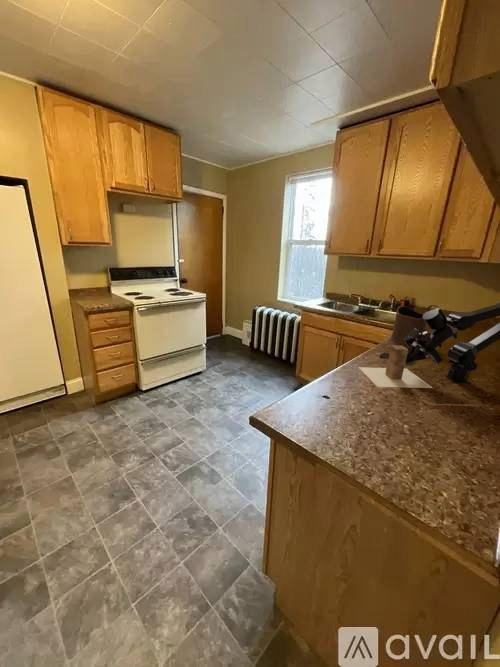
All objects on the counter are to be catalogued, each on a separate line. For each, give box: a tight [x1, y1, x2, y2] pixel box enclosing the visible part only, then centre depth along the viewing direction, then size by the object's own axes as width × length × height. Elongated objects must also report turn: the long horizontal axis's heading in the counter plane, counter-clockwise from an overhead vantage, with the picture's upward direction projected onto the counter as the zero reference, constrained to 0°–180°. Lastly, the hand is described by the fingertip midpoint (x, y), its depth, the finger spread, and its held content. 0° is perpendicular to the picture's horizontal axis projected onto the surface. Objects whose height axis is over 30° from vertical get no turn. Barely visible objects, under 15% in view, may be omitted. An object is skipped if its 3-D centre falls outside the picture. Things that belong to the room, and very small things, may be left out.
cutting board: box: [358, 366, 434, 389], centre depth 116 cm, size 22×18×1 cm
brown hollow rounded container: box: [387, 304, 441, 349], centre depth 156 cm, size 18×24×25 cm
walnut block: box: [385, 344, 409, 379], centre depth 114 cm, size 4×4×13 cm
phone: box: [378, 352, 417, 367], centre depth 136 cm, size 8×1×15 cm
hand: (403, 361), depth 114 cm, fingers closed
